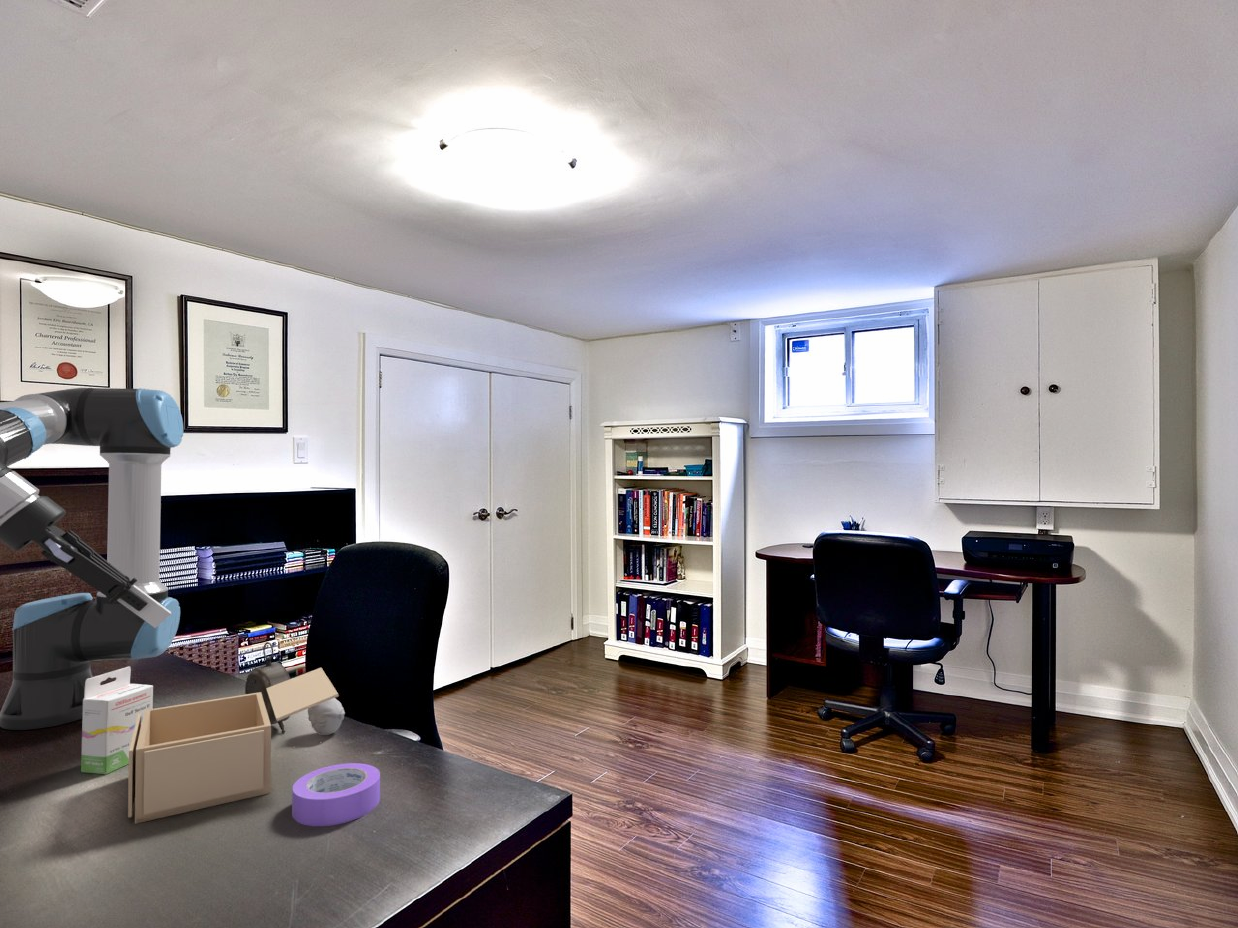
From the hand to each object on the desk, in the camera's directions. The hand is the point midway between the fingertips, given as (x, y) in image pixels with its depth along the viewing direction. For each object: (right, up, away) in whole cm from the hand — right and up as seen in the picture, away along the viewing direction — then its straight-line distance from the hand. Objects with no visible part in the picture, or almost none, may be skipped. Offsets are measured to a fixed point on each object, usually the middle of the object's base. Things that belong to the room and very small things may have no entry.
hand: (163, 619), depth 100 cm
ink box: (-14, -26, +9) cm, 31 cm away
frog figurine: (+15, -26, +22) cm, 37 cm away
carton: (+5, -26, +2) cm, 26 cm away
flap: (+12, -15, +7) cm, 21 cm away
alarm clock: (+3, -26, +24) cm, 36 cm away
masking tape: (+28, -26, -4) cm, 38 cm away
